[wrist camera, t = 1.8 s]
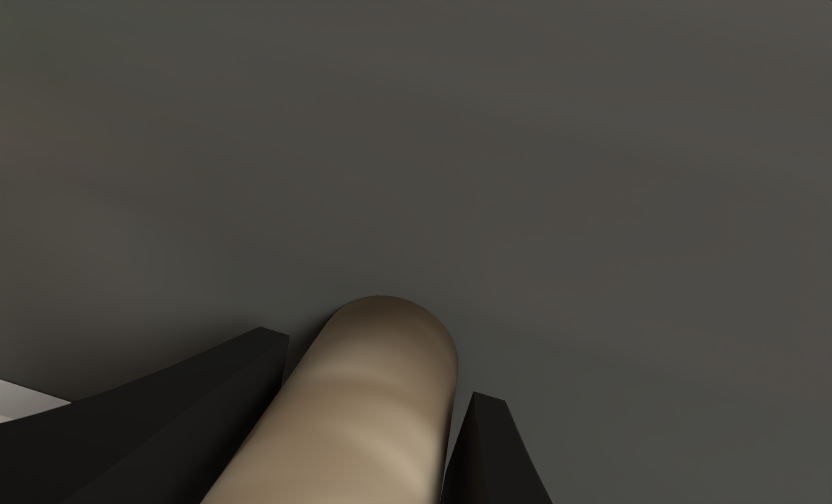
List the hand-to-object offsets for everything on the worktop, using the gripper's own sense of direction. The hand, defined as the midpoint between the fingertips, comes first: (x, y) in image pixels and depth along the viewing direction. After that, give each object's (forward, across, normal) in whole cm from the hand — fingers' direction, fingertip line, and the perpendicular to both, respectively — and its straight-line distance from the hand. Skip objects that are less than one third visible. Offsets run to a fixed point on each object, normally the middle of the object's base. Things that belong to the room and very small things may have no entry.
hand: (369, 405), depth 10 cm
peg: (+2, 0, 0) cm, 2 cm away
